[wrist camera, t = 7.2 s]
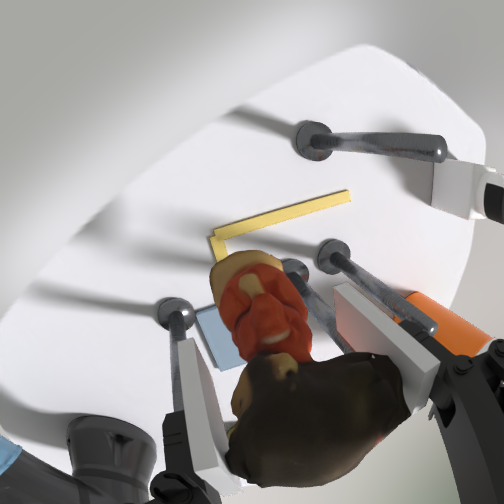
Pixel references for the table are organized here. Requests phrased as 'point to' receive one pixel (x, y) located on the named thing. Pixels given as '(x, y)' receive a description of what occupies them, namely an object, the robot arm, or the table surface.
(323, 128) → the gate
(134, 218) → the table surface
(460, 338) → the shaker bottle
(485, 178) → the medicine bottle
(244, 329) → the figurine
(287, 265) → the gate
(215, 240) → the guide line
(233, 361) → the pad
